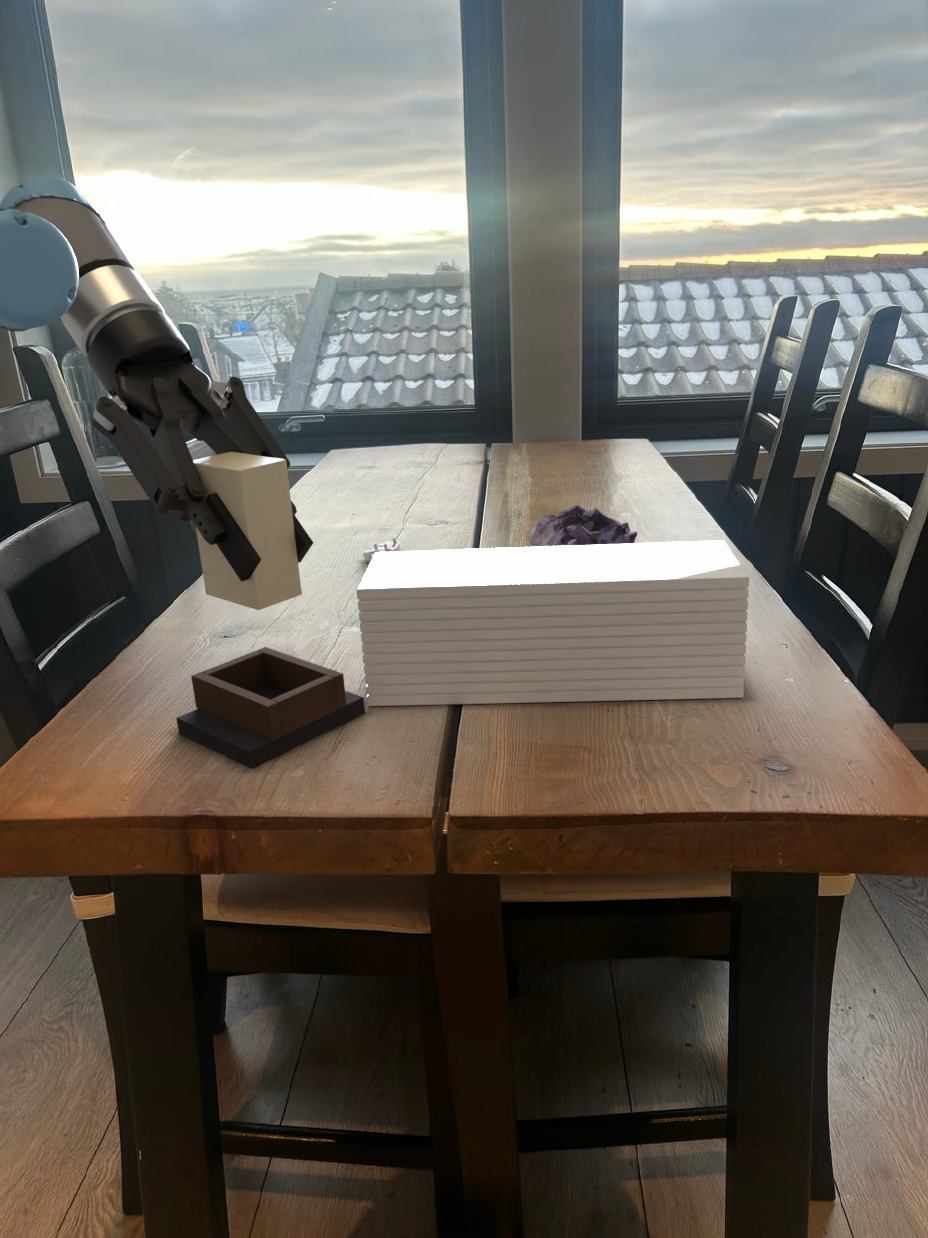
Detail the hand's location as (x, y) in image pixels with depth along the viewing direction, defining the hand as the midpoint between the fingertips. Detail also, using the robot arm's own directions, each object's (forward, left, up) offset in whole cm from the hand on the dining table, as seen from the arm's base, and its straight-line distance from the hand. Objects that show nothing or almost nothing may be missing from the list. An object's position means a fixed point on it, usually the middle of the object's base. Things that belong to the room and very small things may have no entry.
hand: (277, 561), depth 78 cm
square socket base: (-2, +3, -15) cm, 15 cm away
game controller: (+21, +43, -15) cm, 50 cm away
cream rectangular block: (-2, +3, -3) cm, 5 cm away
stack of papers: (+23, +1, -15) cm, 28 cm away
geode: (+36, +21, -15) cm, 44 cm away
